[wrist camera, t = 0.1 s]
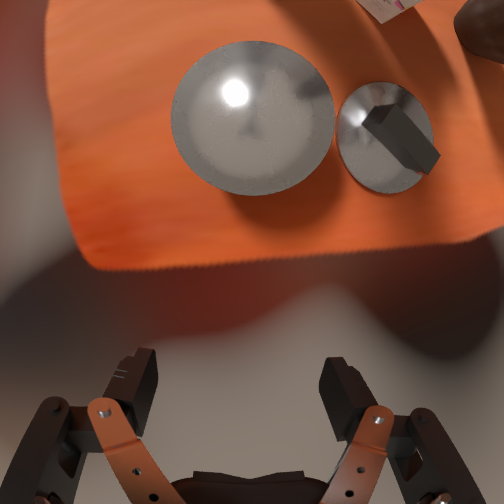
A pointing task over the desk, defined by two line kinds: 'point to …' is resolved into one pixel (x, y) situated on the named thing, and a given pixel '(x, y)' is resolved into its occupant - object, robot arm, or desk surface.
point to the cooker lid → (385, 137)
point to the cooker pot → (253, 118)
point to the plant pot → (482, 28)
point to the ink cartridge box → (386, 8)
